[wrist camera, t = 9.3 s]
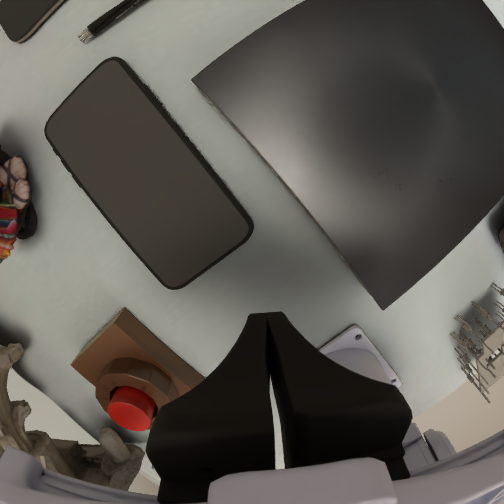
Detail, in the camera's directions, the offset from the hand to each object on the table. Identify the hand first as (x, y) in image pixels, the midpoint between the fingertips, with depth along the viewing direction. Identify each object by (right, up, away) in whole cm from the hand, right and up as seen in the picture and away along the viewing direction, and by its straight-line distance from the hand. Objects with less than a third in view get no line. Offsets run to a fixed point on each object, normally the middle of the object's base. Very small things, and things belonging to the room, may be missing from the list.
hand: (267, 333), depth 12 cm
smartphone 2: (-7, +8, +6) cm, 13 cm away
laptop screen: (+10, +13, +2) cm, 17 cm away
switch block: (-9, -7, +11) cm, 16 cm away
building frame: (+21, -4, +11) cm, 24 cm away
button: (-9, -8, +7) cm, 14 cm away
